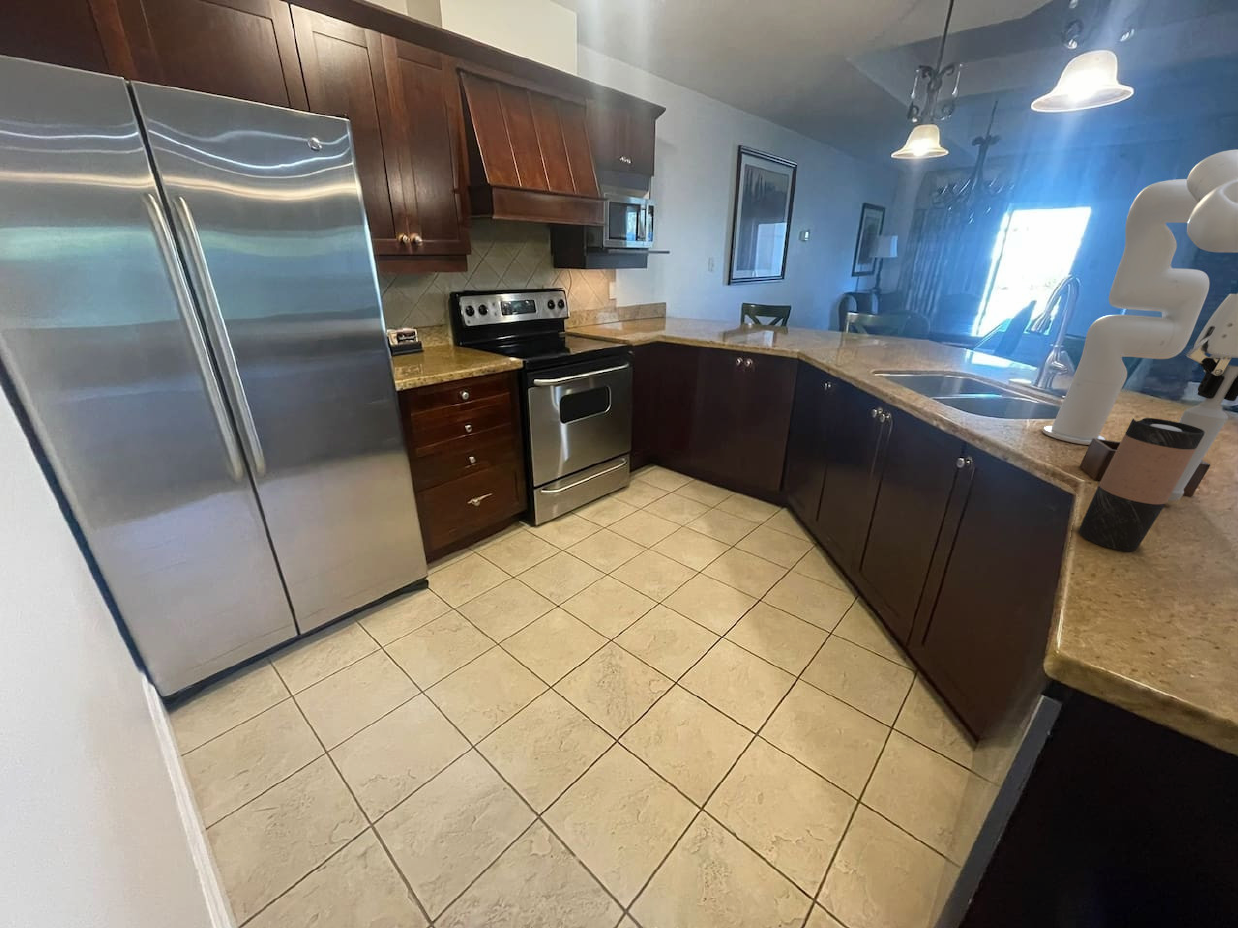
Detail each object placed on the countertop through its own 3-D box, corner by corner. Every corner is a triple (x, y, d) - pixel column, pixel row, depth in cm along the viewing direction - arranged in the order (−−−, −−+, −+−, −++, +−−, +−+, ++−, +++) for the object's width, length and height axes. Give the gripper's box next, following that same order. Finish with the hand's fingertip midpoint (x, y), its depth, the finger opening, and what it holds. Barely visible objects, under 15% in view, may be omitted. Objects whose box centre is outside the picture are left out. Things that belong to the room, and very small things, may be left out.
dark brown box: (1079, 466, 107) (1092, 438, 105) (1169, 481, 102) (1186, 451, 99) (1094, 480, 101) (1109, 449, 98) (1192, 496, 95) (1210, 464, 92)
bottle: (1187, 503, 88) (1266, 370, 78) (1155, 499, 89) (1229, 368, 79) (1164, 491, 93) (1236, 364, 83) (1133, 487, 94) (1201, 362, 84)
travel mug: (1146, 558, 73) (1217, 437, 65) (1081, 542, 77) (1141, 426, 69) (1130, 536, 79) (1193, 423, 71) (1071, 522, 83) (1124, 413, 75)
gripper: (1330, 289, 76) (1263, 399, 83) (1196, 283, 82) (1144, 387, 89) (1373, 291, 70) (1296, 410, 77) (1224, 284, 75) (1166, 396, 83)
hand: (1215, 397), depth 83 cm, fingers closed on bottle, 2 cm apart
